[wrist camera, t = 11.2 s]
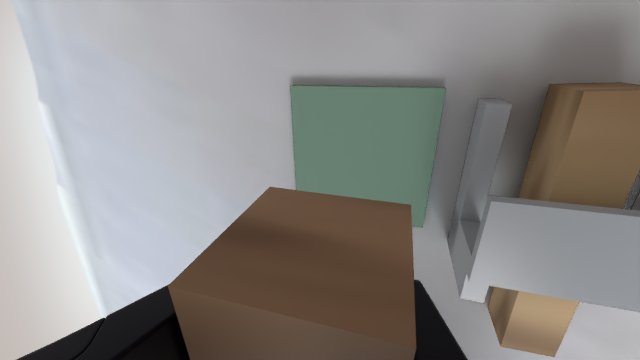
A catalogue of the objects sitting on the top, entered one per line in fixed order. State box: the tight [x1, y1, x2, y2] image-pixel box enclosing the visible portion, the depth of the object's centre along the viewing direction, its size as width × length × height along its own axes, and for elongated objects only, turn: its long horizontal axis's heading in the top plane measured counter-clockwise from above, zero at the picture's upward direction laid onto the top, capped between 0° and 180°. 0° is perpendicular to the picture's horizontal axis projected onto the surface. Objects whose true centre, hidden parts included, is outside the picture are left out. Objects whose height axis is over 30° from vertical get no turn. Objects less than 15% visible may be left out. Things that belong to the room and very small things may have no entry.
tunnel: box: [447, 99, 640, 312], centre depth 12 cm, size 8×9×5 cm
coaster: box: [290, 85, 446, 228], centre depth 16 cm, size 8×8×1 cm
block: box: [168, 187, 416, 360], centre depth 7 cm, size 4×4×4 cm
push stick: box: [488, 83, 640, 357], centre depth 14 cm, size 14×3×3 cm, turn 3°
